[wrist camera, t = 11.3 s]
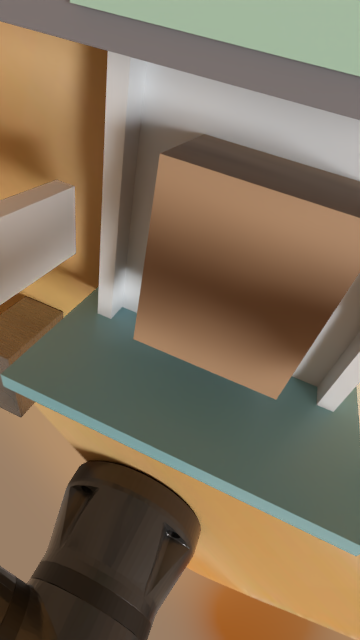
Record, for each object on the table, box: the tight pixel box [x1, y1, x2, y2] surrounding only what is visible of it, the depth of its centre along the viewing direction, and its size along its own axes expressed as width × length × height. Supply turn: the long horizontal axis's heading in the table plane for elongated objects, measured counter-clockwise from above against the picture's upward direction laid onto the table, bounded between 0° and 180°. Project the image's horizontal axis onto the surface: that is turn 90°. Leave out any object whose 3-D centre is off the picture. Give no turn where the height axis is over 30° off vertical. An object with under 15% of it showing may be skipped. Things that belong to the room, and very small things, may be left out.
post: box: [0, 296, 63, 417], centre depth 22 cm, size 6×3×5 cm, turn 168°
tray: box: [0, 51, 360, 556], centre depth 10 cm, size 16×15×8 cm
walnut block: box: [133, 134, 360, 399], centre depth 12 cm, size 7×6×4 cm
